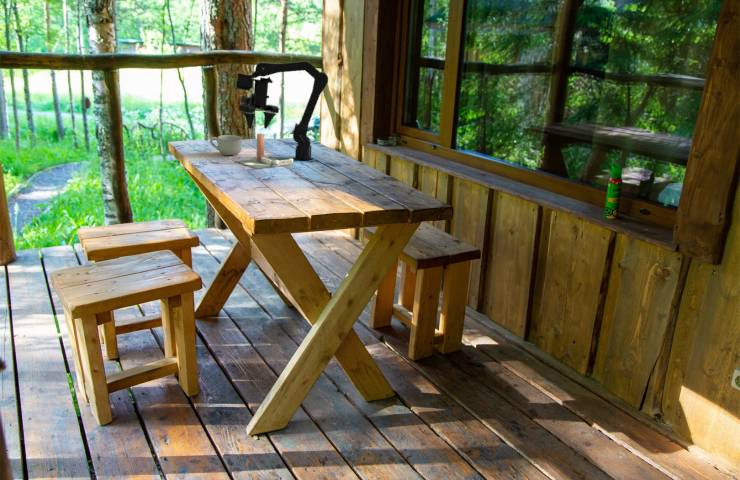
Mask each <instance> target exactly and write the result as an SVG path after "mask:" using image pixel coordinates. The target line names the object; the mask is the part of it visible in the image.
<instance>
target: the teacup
mask: <svg viewBox="0 0 740 480" xmlns="http://www.w3.org/2000/svg"><path fill="white" fill-rule="evenodd" d="M213 140H215V141H216V143H217V145H216V144H215V143H214V142H213ZM209 143H210V145H211V146H212V147H213V148H216V150H217V151H219V152H220V153H221V155H223V156H226V155H236V156H238V155H239V154H240V153H241V152H242V149H243V137H242V136H239V135H233V134H224V135H223V134H222V135H219V136H217V137H216V136H213V137H211V138H210V140H209Z"/></svg>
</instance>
